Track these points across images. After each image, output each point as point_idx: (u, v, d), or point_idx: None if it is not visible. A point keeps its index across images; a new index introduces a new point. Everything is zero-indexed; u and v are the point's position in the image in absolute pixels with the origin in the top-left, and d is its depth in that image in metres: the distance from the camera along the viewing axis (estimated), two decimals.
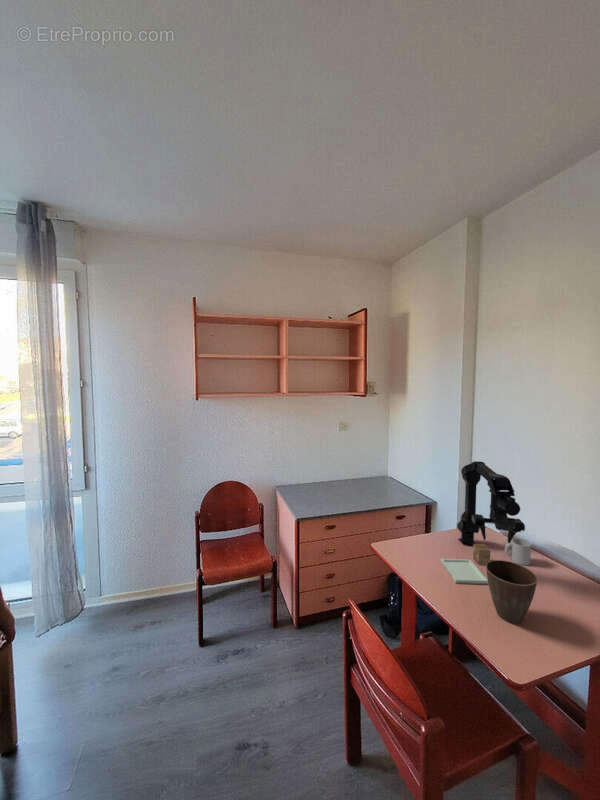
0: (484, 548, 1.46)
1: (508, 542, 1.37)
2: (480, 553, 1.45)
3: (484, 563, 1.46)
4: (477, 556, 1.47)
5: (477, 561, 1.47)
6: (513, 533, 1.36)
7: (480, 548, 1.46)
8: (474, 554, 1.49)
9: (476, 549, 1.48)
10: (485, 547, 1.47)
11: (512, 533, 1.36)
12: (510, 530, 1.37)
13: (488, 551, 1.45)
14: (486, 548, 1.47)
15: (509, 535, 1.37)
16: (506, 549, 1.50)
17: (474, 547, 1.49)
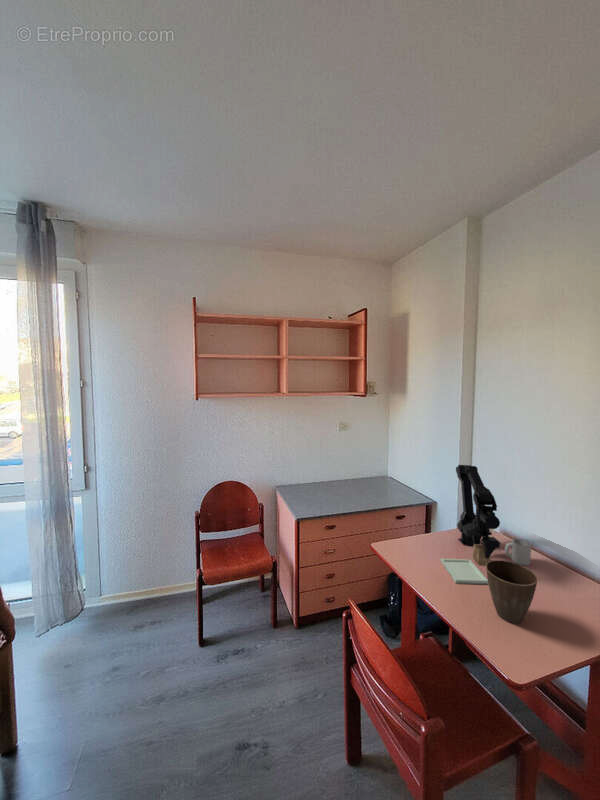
0: None
1: None
2: (480, 553, 1.45)
3: (484, 563, 1.46)
4: (477, 556, 1.47)
5: (477, 561, 1.47)
6: (485, 548, 1.42)
7: (480, 548, 1.46)
8: (474, 554, 1.49)
9: (476, 549, 1.48)
10: None
11: (484, 548, 1.42)
12: None
13: None
14: None
15: None
16: (506, 549, 1.50)
17: (474, 547, 1.49)
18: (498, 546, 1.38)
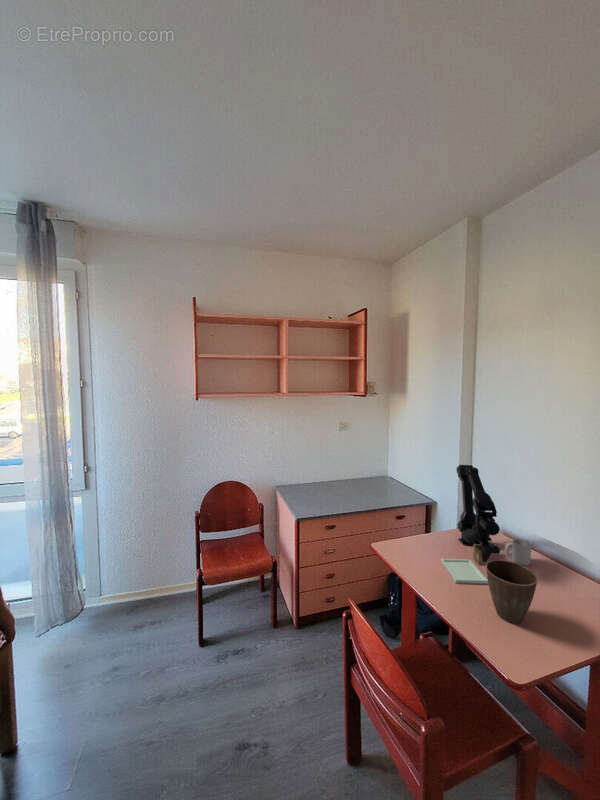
0: None
1: None
2: (480, 553, 1.45)
3: (484, 563, 1.46)
4: (477, 556, 1.47)
5: (477, 561, 1.47)
6: (482, 552, 1.44)
7: None
8: (474, 554, 1.49)
9: (476, 549, 1.48)
10: None
11: (482, 551, 1.44)
12: None
13: None
14: None
15: None
16: (506, 549, 1.50)
17: (474, 547, 1.49)
18: (498, 552, 1.38)
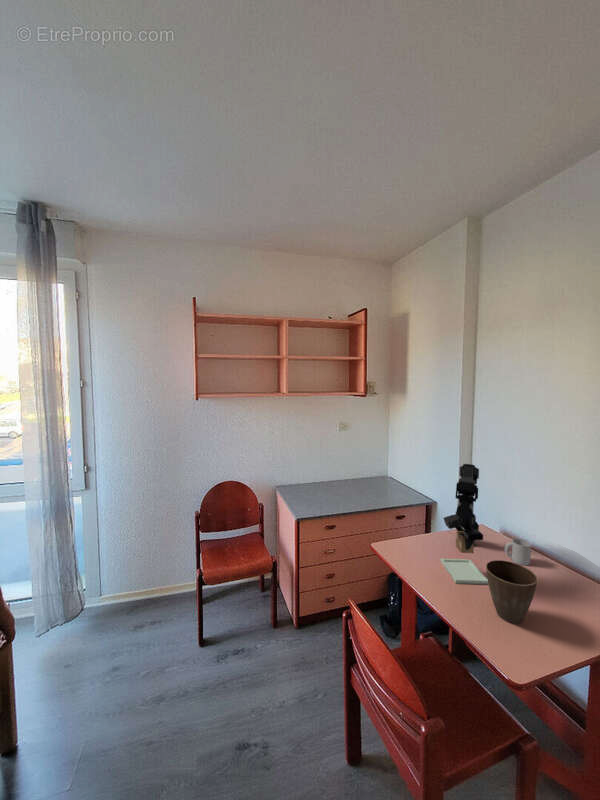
0: None
1: None
2: (463, 540, 1.36)
3: (467, 551, 1.37)
4: (460, 543, 1.38)
5: (460, 549, 1.38)
6: (465, 538, 1.35)
7: None
8: (457, 541, 1.40)
9: (459, 536, 1.39)
10: None
11: (465, 538, 1.35)
12: None
13: None
14: None
15: None
16: (506, 549, 1.50)
17: (457, 534, 1.40)
18: (481, 538, 1.29)
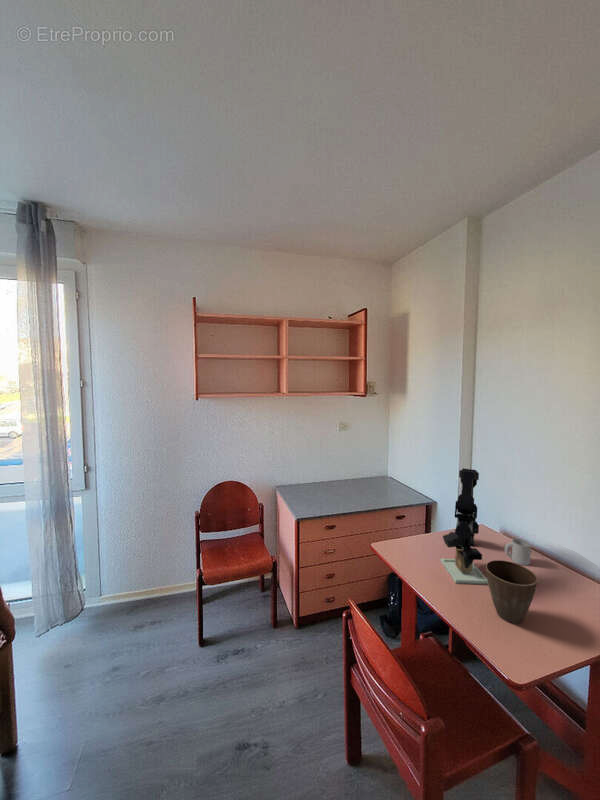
0: None
1: None
2: (462, 559, 1.37)
3: (466, 569, 1.37)
4: (459, 562, 1.38)
5: (459, 567, 1.38)
6: (464, 557, 1.36)
7: None
8: (456, 559, 1.40)
9: (458, 554, 1.39)
10: None
11: (464, 557, 1.36)
12: None
13: None
14: None
15: None
16: (506, 549, 1.50)
17: (456, 552, 1.41)
18: (480, 558, 1.30)
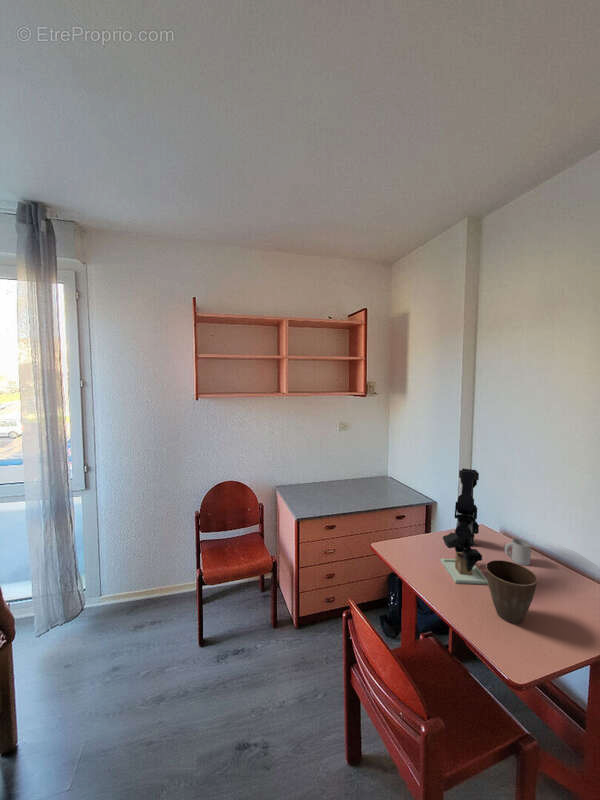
0: None
1: None
2: (462, 562, 1.37)
3: (466, 572, 1.37)
4: (459, 565, 1.38)
5: (459, 570, 1.38)
6: (466, 560, 1.34)
7: (462, 556, 1.38)
8: (456, 562, 1.41)
9: (458, 557, 1.39)
10: None
11: (466, 560, 1.34)
12: None
13: None
14: None
15: None
16: (506, 549, 1.50)
17: (456, 555, 1.41)
18: (480, 559, 1.30)
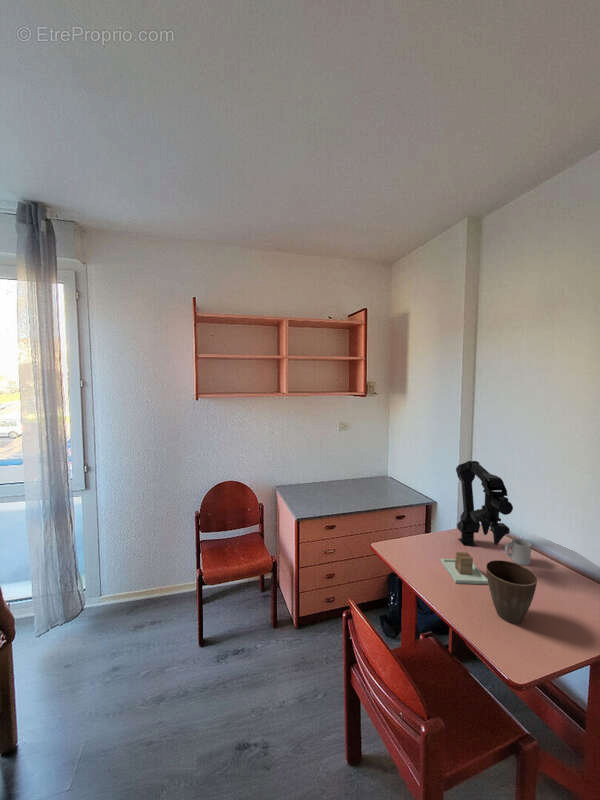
0: (466, 556, 1.38)
1: (494, 543, 1.40)
2: (462, 562, 1.37)
3: (466, 572, 1.37)
4: (459, 565, 1.38)
5: (459, 570, 1.38)
6: (493, 534, 1.39)
7: (462, 556, 1.38)
8: (456, 562, 1.41)
9: (458, 557, 1.39)
10: (467, 555, 1.39)
11: (493, 534, 1.39)
12: None
13: (470, 560, 1.37)
14: (468, 556, 1.38)
15: None
16: (506, 549, 1.50)
17: (456, 555, 1.41)
18: (507, 532, 1.35)
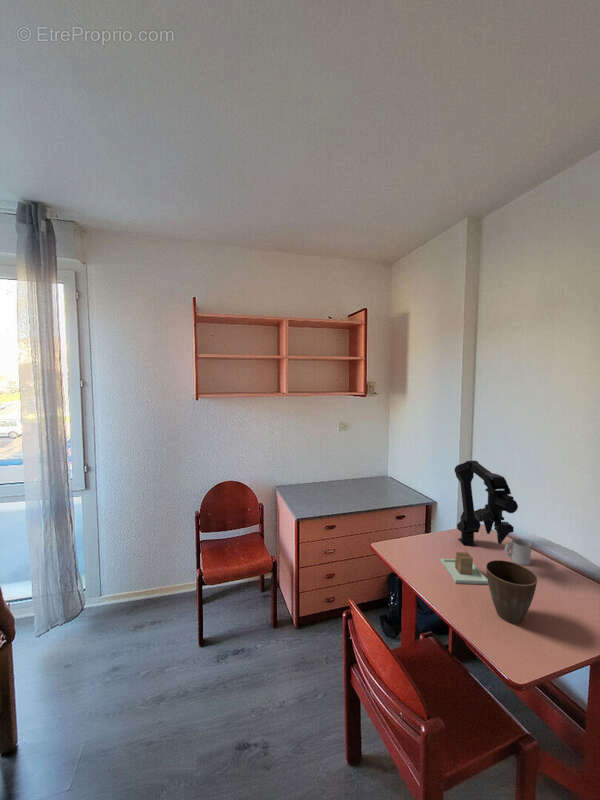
0: (466, 556, 1.38)
1: (498, 542, 1.41)
2: (462, 562, 1.37)
3: (466, 572, 1.37)
4: (459, 565, 1.38)
5: (459, 570, 1.38)
6: (497, 533, 1.39)
7: (462, 556, 1.38)
8: (456, 562, 1.41)
9: (458, 557, 1.39)
10: (467, 555, 1.39)
11: (497, 533, 1.40)
12: None
13: (470, 560, 1.37)
14: (468, 556, 1.38)
15: None
16: (506, 549, 1.50)
17: (456, 555, 1.41)
18: (511, 530, 1.35)
